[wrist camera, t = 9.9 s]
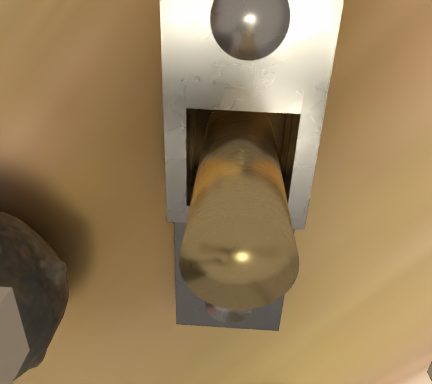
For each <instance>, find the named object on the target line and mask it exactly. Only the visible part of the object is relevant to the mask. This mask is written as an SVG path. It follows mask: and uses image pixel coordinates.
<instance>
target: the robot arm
mask: <svg viewBox="0 0 432 384" xmlns="http://www.w3.org/2000/svg"><path fill="white" fill-rule="evenodd" d="M29 351H30V350H29V346H28V343H27V339H26V336H25V332H24V328H23V325H22V321H21V318H20V314H19V310H18V307H17V303H16V300H15V296H14V293H13V289H12V287H0V384H12V382H13V380H14V378H15V377H16V375H17V373H18V371H19V369H20V367H21V366H22V364H23V362H24V360H25V358H26V356H27V354H28V353H29ZM427 373H428V375H429V377H430V379H431V381H432V362H431V364H430V366H429V369H428V371H427Z"/></svg>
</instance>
